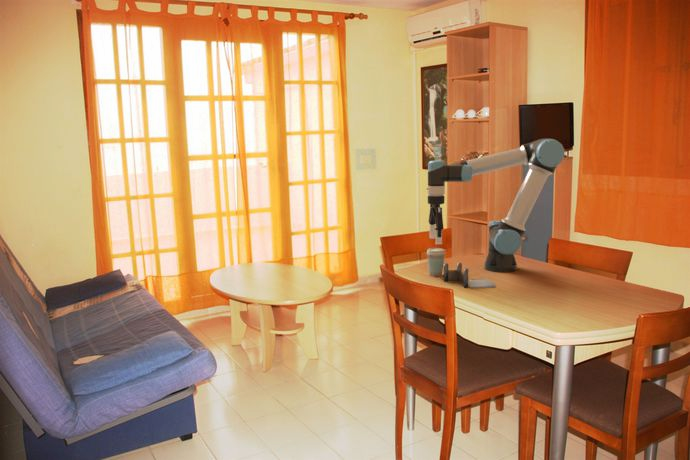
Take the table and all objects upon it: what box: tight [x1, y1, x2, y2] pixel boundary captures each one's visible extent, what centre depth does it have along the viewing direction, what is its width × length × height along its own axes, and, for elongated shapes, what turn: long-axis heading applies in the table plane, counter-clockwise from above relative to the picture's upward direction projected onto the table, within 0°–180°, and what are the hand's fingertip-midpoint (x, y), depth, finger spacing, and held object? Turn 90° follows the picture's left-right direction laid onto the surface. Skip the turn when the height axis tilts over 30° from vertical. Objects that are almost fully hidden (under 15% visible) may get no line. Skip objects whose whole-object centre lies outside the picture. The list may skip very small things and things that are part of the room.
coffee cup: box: [426, 247, 446, 277], centre depth 274 cm, size 8×8×12 cm
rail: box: [443, 262, 469, 289], centre depth 257 cm, size 8×13×8 cm, turn 3°
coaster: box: [468, 279, 497, 289], centre depth 257 cm, size 11×11×1 cm
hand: (435, 241), depth 272 cm, fingers open, 13 cm apart
